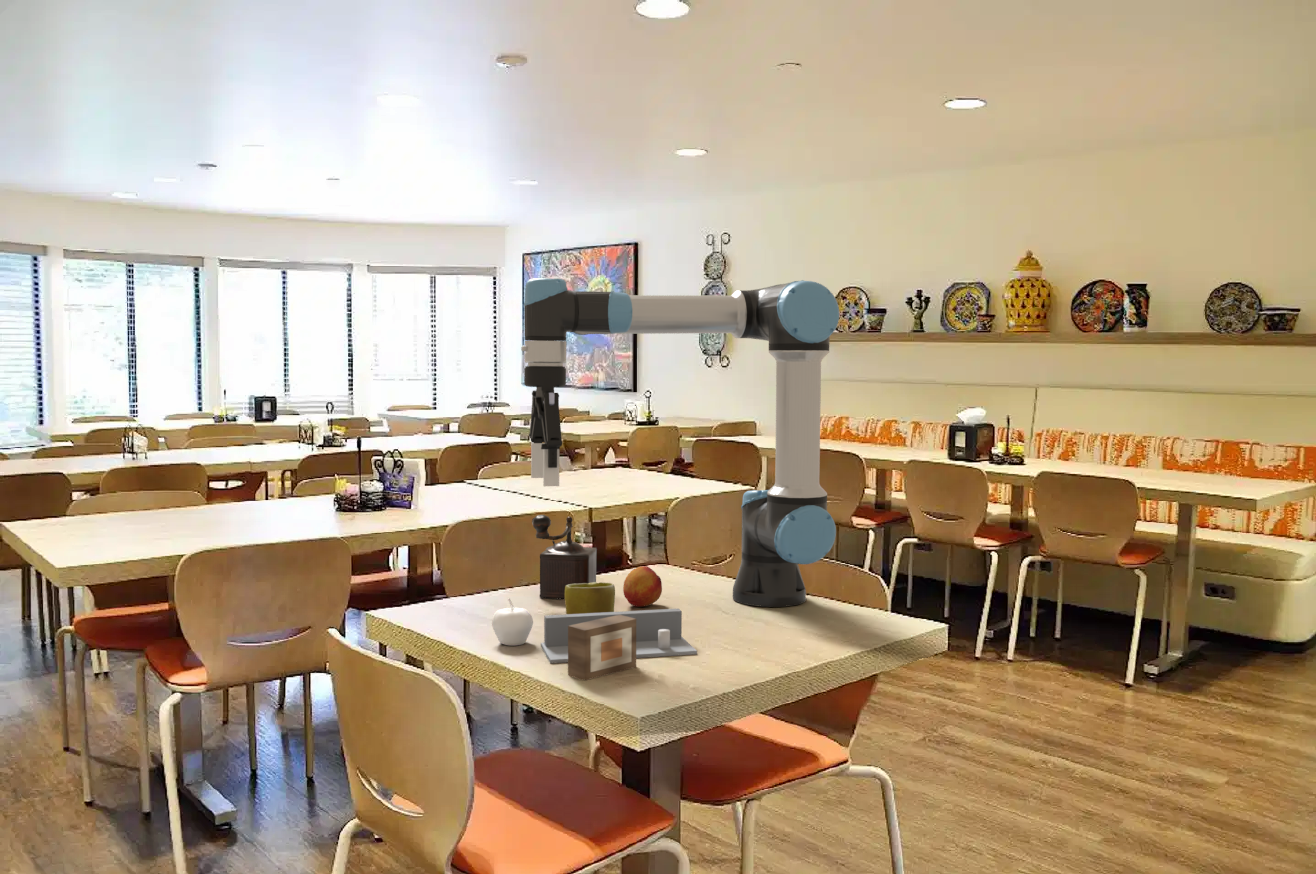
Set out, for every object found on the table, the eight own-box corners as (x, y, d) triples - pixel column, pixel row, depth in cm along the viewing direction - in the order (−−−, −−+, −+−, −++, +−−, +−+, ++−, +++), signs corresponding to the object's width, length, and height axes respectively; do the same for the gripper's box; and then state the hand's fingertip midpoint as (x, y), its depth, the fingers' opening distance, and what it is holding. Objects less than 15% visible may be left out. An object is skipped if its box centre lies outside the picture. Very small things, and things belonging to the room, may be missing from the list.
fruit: (667, 609, 218) (667, 569, 218) (627, 611, 216) (627, 571, 216) (657, 600, 226) (657, 562, 225) (619, 602, 224) (619, 564, 223)
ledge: (679, 638, 196) (679, 607, 196) (696, 654, 185) (697, 621, 185) (540, 646, 190) (540, 614, 189) (550, 663, 179) (550, 629, 179)
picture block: (619, 662, 181) (619, 614, 180) (637, 667, 178) (637, 619, 177) (568, 675, 173) (568, 625, 172) (585, 681, 170) (585, 630, 169)
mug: (615, 626, 196) (602, 572, 198) (563, 640, 199) (550, 586, 201) (634, 623, 208) (621, 572, 210) (585, 637, 210) (572, 586, 212)
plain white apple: (495, 638, 195) (495, 593, 195) (535, 638, 195) (535, 594, 194) (488, 648, 188) (488, 602, 188) (529, 649, 188) (529, 603, 187)
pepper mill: (547, 588, 238) (547, 505, 236) (597, 590, 236) (597, 507, 235) (529, 604, 222) (528, 516, 221) (582, 606, 221) (582, 517, 219)
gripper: (514, 364, 209) (514, 474, 210) (535, 365, 185) (535, 490, 186) (553, 364, 211) (553, 474, 212) (579, 365, 187) (578, 489, 188)
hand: (544, 482), depth 199 cm, fingers open, 13 cm apart
